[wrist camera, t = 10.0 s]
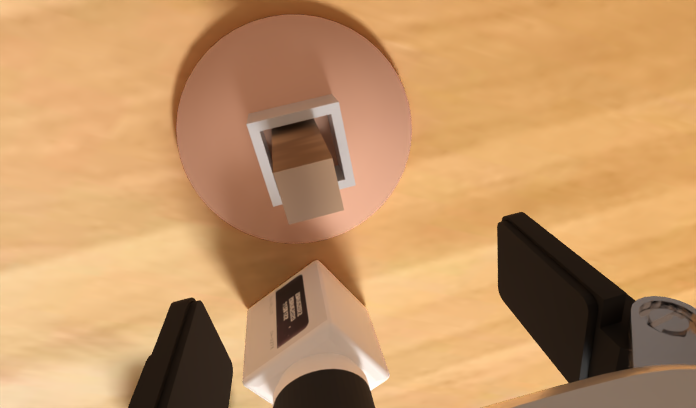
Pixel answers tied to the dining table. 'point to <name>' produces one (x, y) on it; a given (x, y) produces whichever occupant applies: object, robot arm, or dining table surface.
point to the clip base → (290, 107)
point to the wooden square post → (304, 172)
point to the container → (312, 345)
